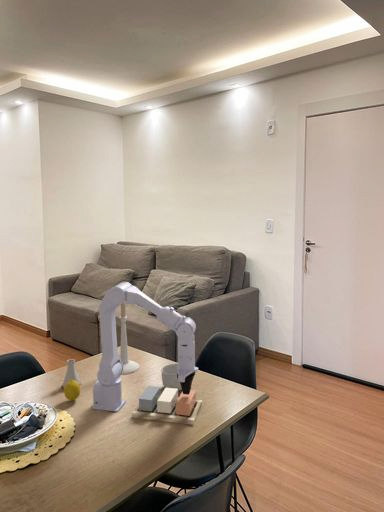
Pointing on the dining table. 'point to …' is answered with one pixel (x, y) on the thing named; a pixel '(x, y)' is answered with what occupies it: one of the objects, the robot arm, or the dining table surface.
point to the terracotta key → (186, 403)
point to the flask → (71, 373)
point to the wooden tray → (168, 417)
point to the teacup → (170, 376)
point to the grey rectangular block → (149, 398)
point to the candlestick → (125, 346)
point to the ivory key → (167, 400)
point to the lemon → (72, 390)
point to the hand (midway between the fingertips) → (186, 393)
